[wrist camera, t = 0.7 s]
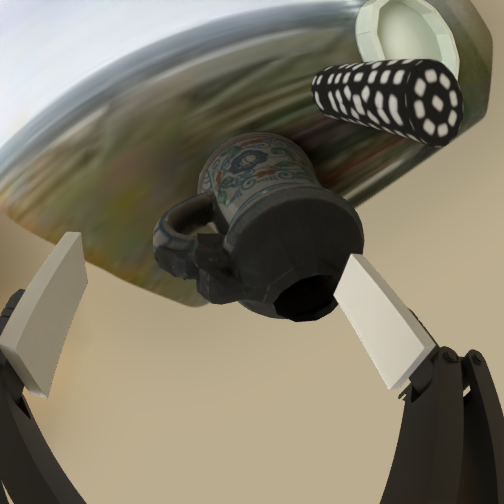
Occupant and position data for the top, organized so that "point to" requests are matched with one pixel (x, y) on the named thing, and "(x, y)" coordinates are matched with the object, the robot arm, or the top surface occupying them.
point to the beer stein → (261, 231)
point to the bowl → (404, 33)
